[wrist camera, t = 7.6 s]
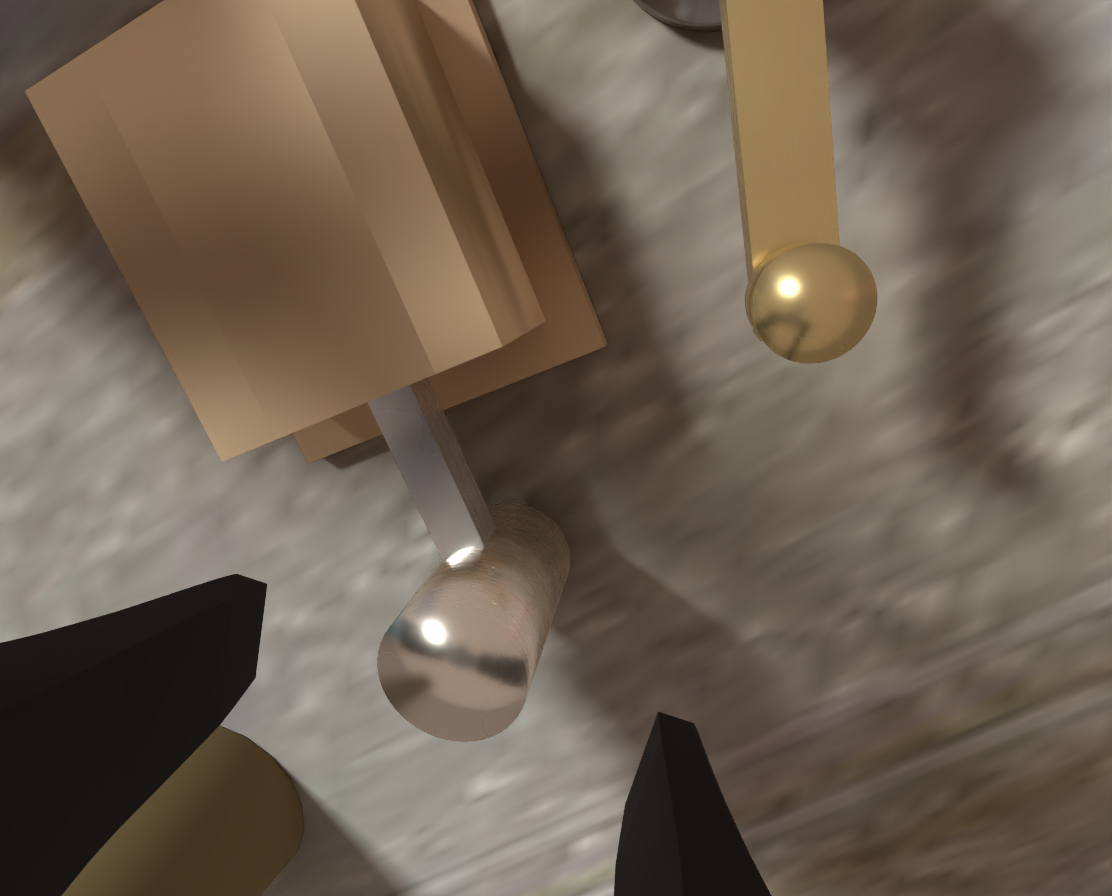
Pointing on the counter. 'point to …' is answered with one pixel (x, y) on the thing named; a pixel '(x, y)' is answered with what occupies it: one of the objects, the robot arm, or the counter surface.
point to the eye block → (319, 209)
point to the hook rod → (465, 585)
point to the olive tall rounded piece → (204, 829)
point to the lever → (790, 183)
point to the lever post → (685, 13)
